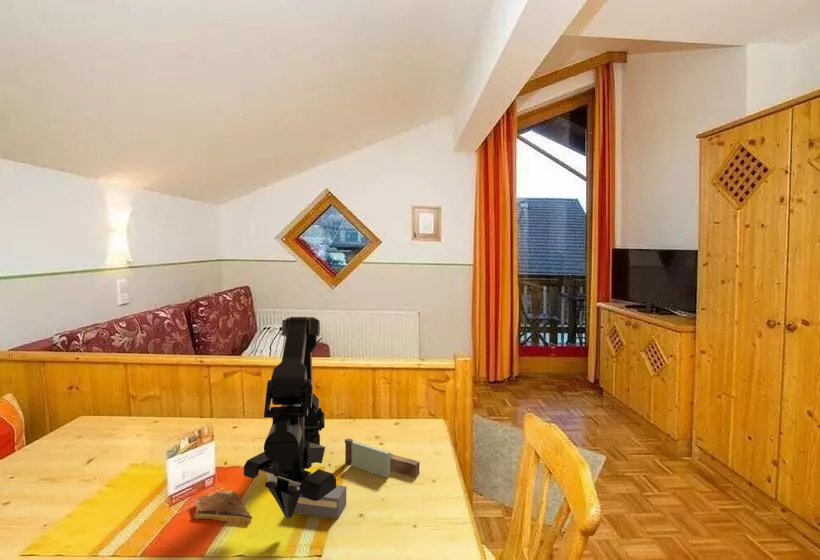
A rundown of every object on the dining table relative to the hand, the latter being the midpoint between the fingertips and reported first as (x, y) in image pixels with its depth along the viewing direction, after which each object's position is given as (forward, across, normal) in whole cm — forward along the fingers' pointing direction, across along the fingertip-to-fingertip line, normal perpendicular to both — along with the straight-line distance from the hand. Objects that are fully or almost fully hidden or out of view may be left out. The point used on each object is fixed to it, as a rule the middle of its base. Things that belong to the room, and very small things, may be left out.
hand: (288, 517), depth 90 cm
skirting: (+3, -2, -32) cm, 33 cm away
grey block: (+3, 0, -9) cm, 10 cm away
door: (+3, 0, -29) cm, 29 cm away
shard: (+4, +17, 0) cm, 17 cm away
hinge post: (+3, +7, -29) cm, 30 cm away
